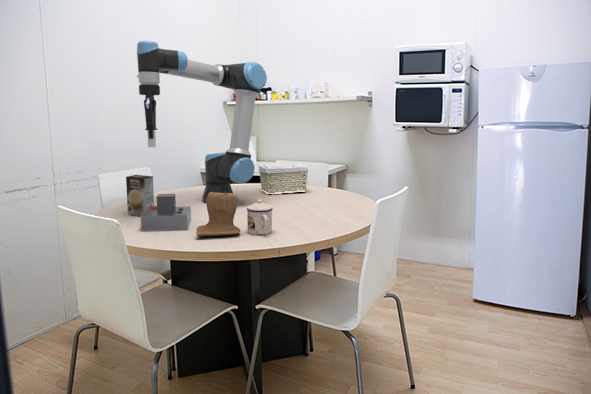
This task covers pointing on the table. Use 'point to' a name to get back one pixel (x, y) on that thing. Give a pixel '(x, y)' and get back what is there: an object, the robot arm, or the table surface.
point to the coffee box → (139, 194)
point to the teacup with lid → (259, 218)
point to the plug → (166, 203)
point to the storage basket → (283, 177)
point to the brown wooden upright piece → (219, 215)
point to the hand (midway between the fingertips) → (152, 147)
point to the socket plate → (166, 219)
